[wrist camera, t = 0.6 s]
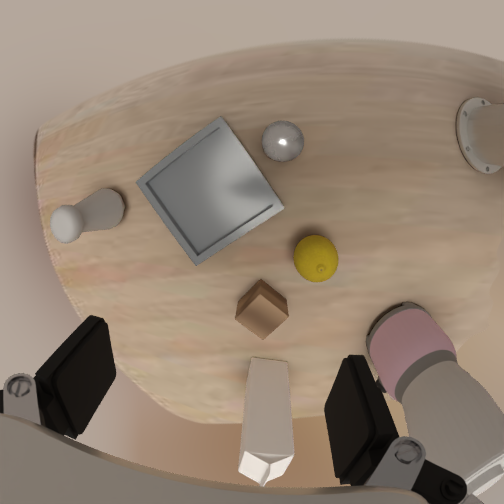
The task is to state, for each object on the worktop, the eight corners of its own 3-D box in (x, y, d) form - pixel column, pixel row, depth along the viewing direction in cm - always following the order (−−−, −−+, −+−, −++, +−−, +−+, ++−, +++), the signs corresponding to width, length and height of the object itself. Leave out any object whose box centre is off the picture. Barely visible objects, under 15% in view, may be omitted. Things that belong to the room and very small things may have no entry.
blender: (403, 286, 40) (525, 441, 10) (439, 322, 42) (536, 451, 12) (336, 356, 45) (383, 534, 14) (379, 381, 47) (432, 526, 16)
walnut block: (260, 278, 41) (260, 294, 36) (286, 299, 42) (288, 316, 37) (238, 301, 42) (234, 319, 38) (263, 321, 43) (263, 339, 38)
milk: (287, 361, 45) (297, 475, 24) (279, 386, 47) (284, 493, 26) (250, 356, 45) (243, 472, 24) (245, 381, 47) (236, 490, 26)
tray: (223, 118, 34) (220, 116, 32) (283, 205, 38) (284, 208, 36) (141, 180, 37) (135, 182, 35) (199, 261, 41) (195, 266, 39)
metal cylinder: (284, 121, 34) (288, 113, 28) (303, 149, 35) (311, 147, 29) (255, 139, 35) (253, 135, 29) (274, 167, 36) (277, 169, 30)
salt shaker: (136, 198, 38) (85, 216, 26) (121, 232, 40) (72, 261, 27) (105, 179, 37) (49, 191, 25) (92, 213, 39) (38, 236, 27)
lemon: (282, 247, 39) (286, 268, 32) (313, 220, 38) (325, 235, 30) (308, 275, 40) (317, 301, 33) (338, 249, 39) (354, 271, 32)
